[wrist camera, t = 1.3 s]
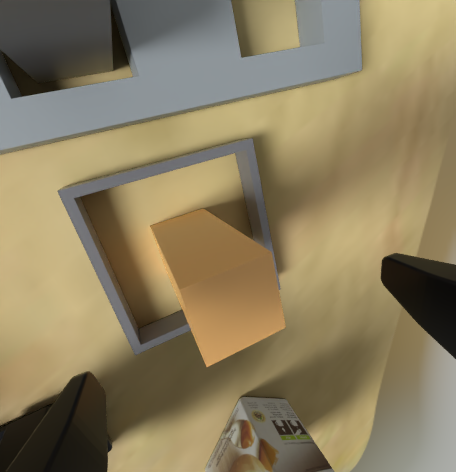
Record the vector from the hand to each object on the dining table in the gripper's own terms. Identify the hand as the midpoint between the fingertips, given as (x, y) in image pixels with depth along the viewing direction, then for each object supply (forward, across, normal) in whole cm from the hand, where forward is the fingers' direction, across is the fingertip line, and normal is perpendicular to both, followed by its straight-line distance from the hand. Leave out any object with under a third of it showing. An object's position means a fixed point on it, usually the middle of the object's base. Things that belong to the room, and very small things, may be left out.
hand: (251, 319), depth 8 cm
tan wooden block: (+13, +1, +3) cm, 13 cm away
